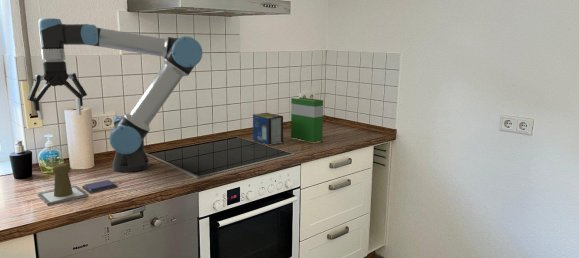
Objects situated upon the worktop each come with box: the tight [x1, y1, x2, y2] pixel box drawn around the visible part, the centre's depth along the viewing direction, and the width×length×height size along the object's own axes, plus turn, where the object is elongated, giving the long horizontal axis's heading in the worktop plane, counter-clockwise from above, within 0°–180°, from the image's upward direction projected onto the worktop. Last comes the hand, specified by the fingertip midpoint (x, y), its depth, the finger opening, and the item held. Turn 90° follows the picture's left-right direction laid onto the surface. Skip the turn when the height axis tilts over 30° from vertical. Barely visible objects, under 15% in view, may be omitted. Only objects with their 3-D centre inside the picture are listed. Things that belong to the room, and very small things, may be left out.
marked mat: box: [37, 185, 89, 206], centre depth 149 cm, size 13×13×1 cm
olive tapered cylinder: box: [52, 163, 73, 197], centre depth 148 cm, size 6×6×11 cm
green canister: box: [290, 96, 324, 142], centre depth 239 cm, size 18×7×24 cm, turn 45°
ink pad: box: [81, 179, 118, 194], centre depth 158 cm, size 10×8×1 cm
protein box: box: [252, 112, 284, 146], centre depth 235 cm, size 10×15×16 cm
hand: (60, 116), depth 161 cm, fingers open, 13 cm apart
